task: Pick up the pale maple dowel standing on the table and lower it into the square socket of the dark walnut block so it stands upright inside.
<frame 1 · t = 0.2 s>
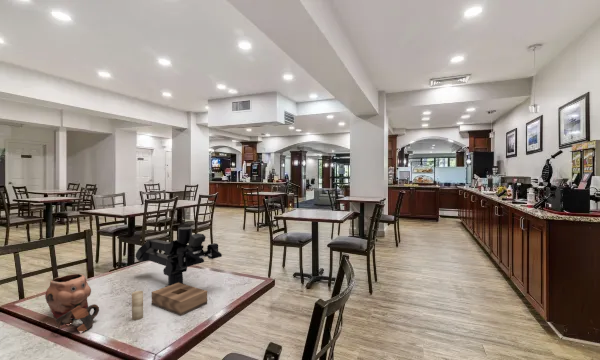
hand: (212, 258, 121), 17 cm above the table, tool horizontal, fingers open, 9 cm apart
decorative planter: (67, 315, 107), on the table
maple dowel: (137, 317, 105), on the table
pottery mug: (79, 328, 98), on the table
walnut socket block: (179, 304, 116), on the table
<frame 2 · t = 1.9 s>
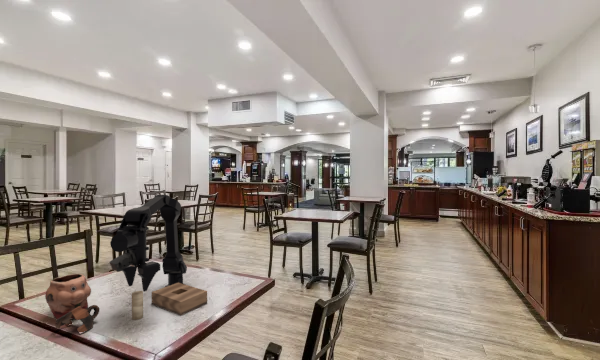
hand: (137, 288, 105), 10 cm above the table, tool pointing down, fingers open, 9 cm apart
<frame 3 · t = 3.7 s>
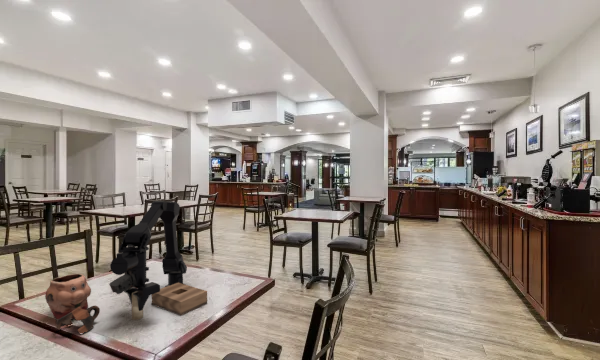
hand: (137, 309, 105), 3 cm above the table, tool pointing down, fingers closed on maple dowel, 3 cm apart
maple dowel: (137, 317, 105), on the table, touching gripper
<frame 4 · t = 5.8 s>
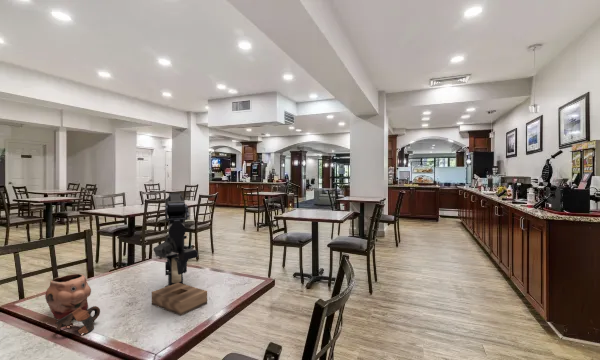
hand: (176, 273, 115), 12 cm above the table, tool pointing down, fingers closed on maple dowel, 3 cm apart
maple dowel: (176, 281, 115), point 9 cm above the table, touching gripper
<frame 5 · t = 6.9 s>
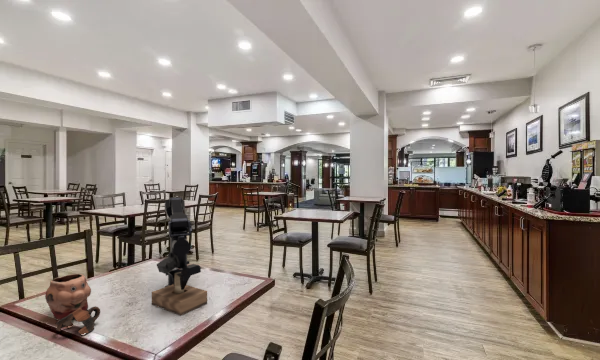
hand: (179, 288, 116), 6 cm above the table, tool pointing down, fingers closed on maple dowel, 3 cm apart
maple dowel: (179, 296, 116), point 3 cm above the table, touching gripper
when the fingers open (6 cm above the table, at t = 8.0 s): maple dowel drops 1 cm, resting on walnut socket block.
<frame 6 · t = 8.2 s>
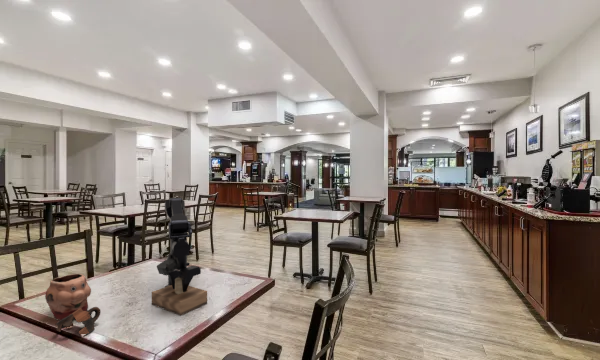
hand: (179, 290, 116), 6 cm above the table, tool pointing down, fingers open, 6 cm apart
maple dowel: (179, 301, 116), point 1 cm above the table, touching walnut socket block
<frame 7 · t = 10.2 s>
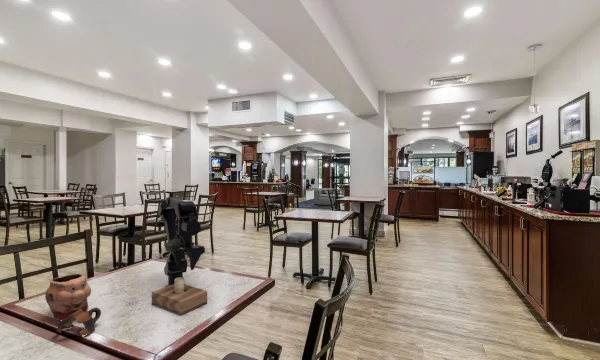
hand: (185, 267, 124), 12 cm above the table, tool pointing down, fingers open, 9 cm apart
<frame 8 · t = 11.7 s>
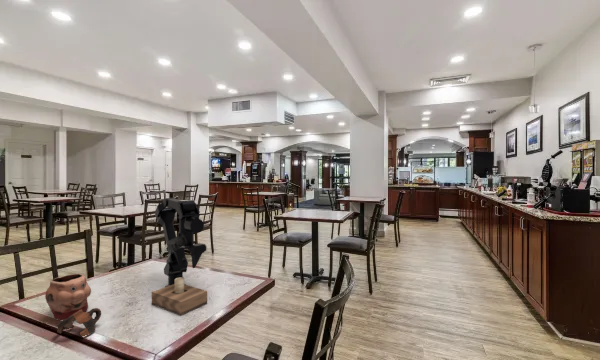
hand: (186, 266, 126), 12 cm above the table, tool pointing down, fingers open, 9 cm apart
at the end: maple dowel 0.0 cm off-centre on the walnut socket block, point 1.0 cm above the walnut socket block's base; maple dowel tilted 0°; the gripper is holding nothing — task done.
